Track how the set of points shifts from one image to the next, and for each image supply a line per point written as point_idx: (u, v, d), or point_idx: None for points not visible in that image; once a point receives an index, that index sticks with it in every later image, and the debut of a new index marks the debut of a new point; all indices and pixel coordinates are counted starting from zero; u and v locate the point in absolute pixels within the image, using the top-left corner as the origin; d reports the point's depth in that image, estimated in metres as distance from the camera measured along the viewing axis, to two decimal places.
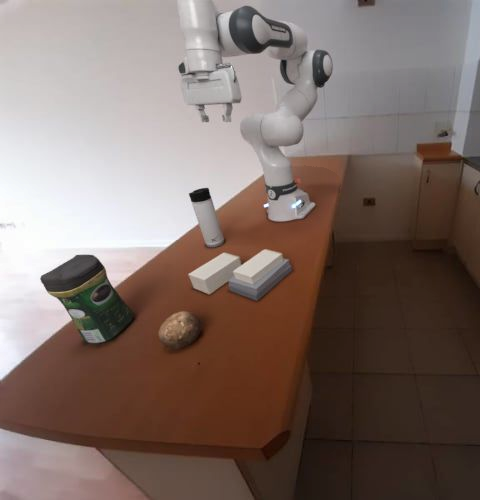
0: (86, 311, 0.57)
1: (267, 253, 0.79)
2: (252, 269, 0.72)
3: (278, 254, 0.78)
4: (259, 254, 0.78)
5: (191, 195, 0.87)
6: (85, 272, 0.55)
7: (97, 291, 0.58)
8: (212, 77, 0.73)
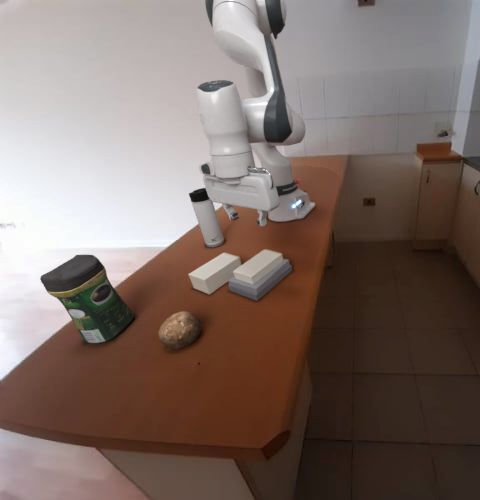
0: (86, 311, 0.57)
1: (267, 253, 0.79)
2: (252, 269, 0.72)
3: (278, 254, 0.78)
4: (259, 254, 0.78)
5: (191, 195, 0.87)
6: (85, 272, 0.55)
7: (97, 291, 0.58)
8: (244, 182, 0.60)
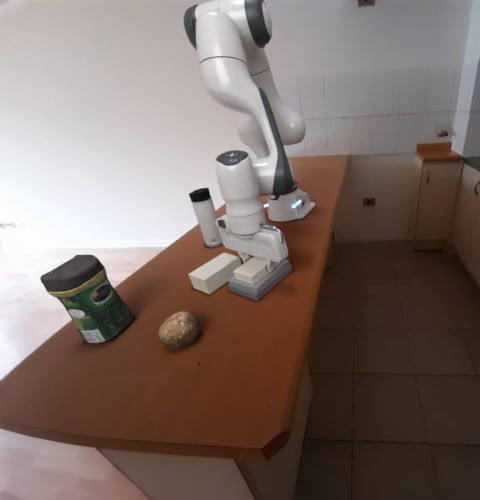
0: (86, 311, 0.57)
1: None
2: (252, 269, 0.72)
3: None
4: None
5: (191, 195, 0.87)
6: (85, 272, 0.55)
7: (97, 291, 0.58)
8: (257, 237, 0.67)
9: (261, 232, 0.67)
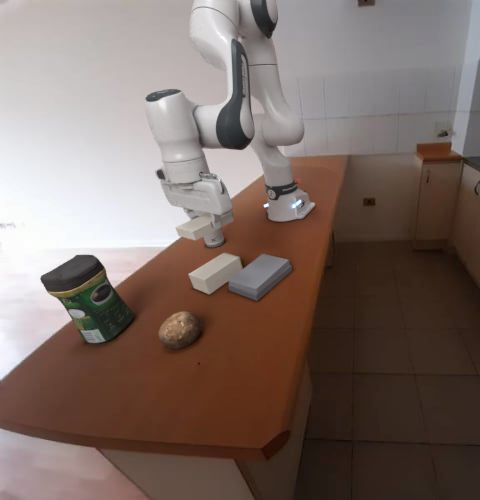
0: (86, 311, 0.57)
1: None
2: (196, 225, 0.67)
3: (228, 213, 0.73)
4: (208, 213, 0.73)
5: None
6: (85, 272, 0.55)
7: (97, 291, 0.58)
8: (196, 188, 0.62)
9: (201, 181, 0.62)
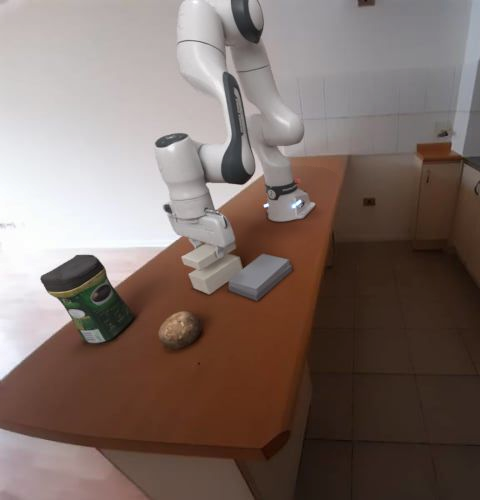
0: (86, 311, 0.57)
1: None
2: (200, 255, 0.71)
3: None
4: None
5: None
6: (85, 272, 0.55)
7: (97, 291, 0.58)
8: (201, 222, 0.67)
9: (205, 216, 0.66)
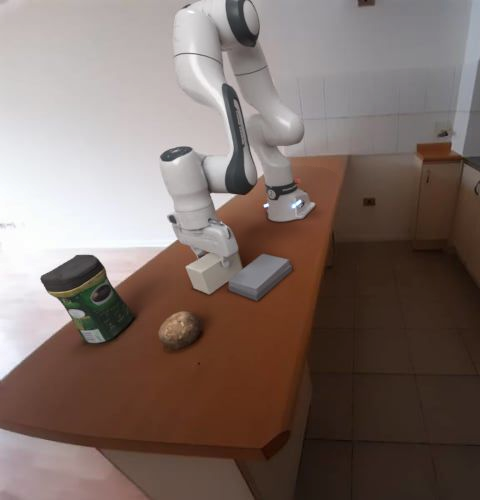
0: (86, 311, 0.57)
1: None
2: (204, 265, 0.73)
3: None
4: None
5: None
6: (85, 272, 0.55)
7: (97, 291, 0.58)
8: (205, 232, 0.68)
9: (209, 227, 0.68)
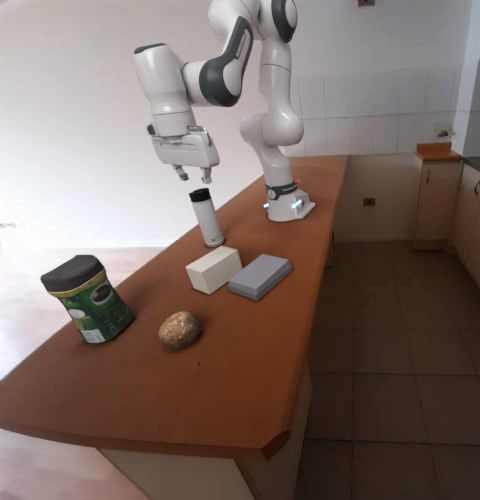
0: (86, 311, 0.57)
1: (223, 249, 0.80)
2: (204, 265, 0.73)
3: (233, 250, 0.79)
4: (215, 250, 0.79)
5: (191, 195, 0.87)
6: (85, 272, 0.55)
7: (97, 291, 0.58)
8: (185, 141, 0.66)
9: (189, 134, 0.65)
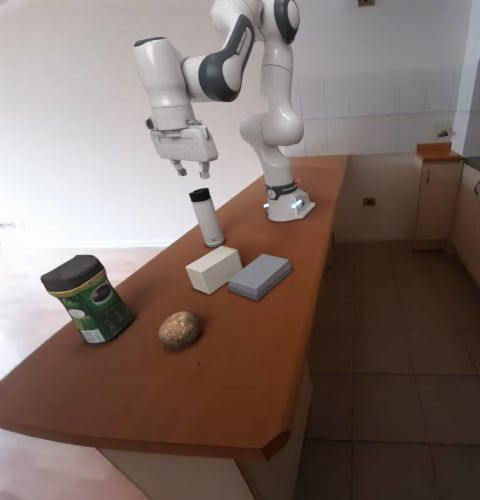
0: (86, 311, 0.57)
1: (223, 249, 0.80)
2: (204, 265, 0.73)
3: (233, 250, 0.79)
4: (215, 250, 0.79)
5: (191, 195, 0.87)
6: (85, 272, 0.55)
7: (97, 291, 0.58)
8: (183, 135, 0.66)
9: (187, 128, 0.65)
